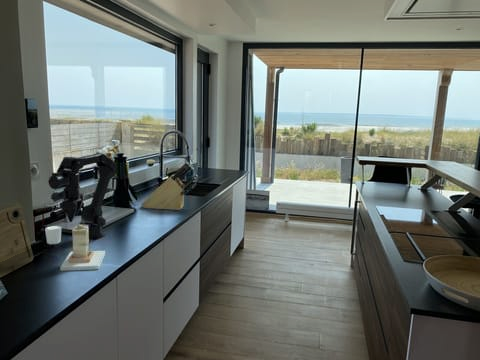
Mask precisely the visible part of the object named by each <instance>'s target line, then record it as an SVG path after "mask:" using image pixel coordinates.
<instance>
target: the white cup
mask: <svg viewBox="0 0 480 360" xmlns="http://www.w3.org/2000/svg"><path fill="white" fill-rule="evenodd" d="M44 231H45V237H46V244H48V245H57V244H60V243H61V241H62V239H61V238H62V227H61V226H60V225H52V226H47V227H45V228H44Z"/></svg>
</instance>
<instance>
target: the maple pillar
mask: <svg viewBox="0 0 480 360" xmlns="http://www.w3.org/2000/svg"><path fill="white" fill-rule="evenodd" d="M88 226H89V225H85V226H84V225H83V224H80V225H76V226H75V227H73V229H72V231H71V232H72V233H71V234H72V252H73V258H88V257H89V251H90V246H89V245H90V243H89V242H90V240H89V239H90V238H89V235H88Z"/></svg>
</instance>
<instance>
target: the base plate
mask: <svg viewBox="0 0 480 360" xmlns="http://www.w3.org/2000/svg"><path fill="white" fill-rule="evenodd" d="M105 255H106V250H89V257H88V258H73V251H70V252H69V254H68V255H67V257H66V258H65V260H64V261H63V262H62V264H61V265H60V271H61V272H64V271H88V270H90V271H91V270H99V269H100V266H101V264H102V262H103V260H104V257H105Z"/></svg>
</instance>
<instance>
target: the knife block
mask: <svg viewBox="0 0 480 360" xmlns="http://www.w3.org/2000/svg"><path fill="white" fill-rule="evenodd" d="M194 169H195V168H194V166H192V165H191V164H190V163H189V161H187V162H185V163H184V164H183V165H182V166H181V167H180V168H179V169H177V170H176V171H175V172H174V173H173V174H172V175H170V177H169V178H167V179H166V180H165V181H164V182H162V184H161V185H160V186H159V187H158V188H156V189H155V190H154V191H153V192H152V193H151V194H150V195H149V196H148V197H147V198H146V199H144V201H142V202H141V203H140V205H141V206H142V207H143V209H158V210H176V211H181V210H182V208H183V207H184V203H185V202H184V201H185V195H186V194H187V193H189V192H190V191H191V190H192V189H195V187H196V185H197V182H194V181H195V180H196V179H197V178H198V175H197V174H195V175H191V176H190V177H189V178H188V179H186V180H185V181H184V183H183V182H182V180H183V179H184V178H185V177H187V176H188V175H189V174H190V173H191V172H192V171H193V170H194Z"/></svg>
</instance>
